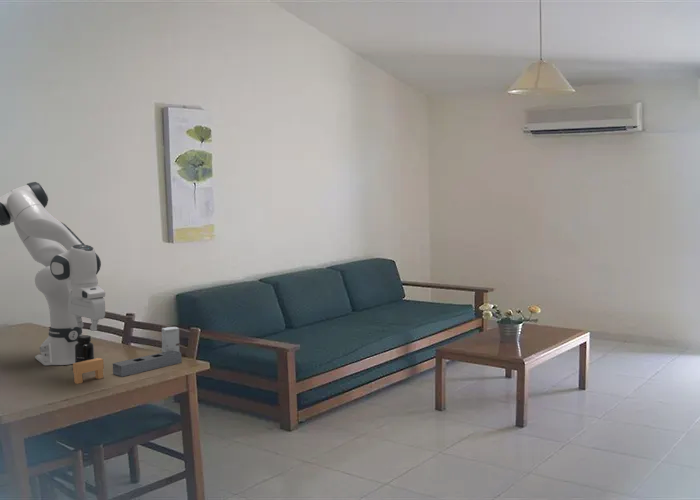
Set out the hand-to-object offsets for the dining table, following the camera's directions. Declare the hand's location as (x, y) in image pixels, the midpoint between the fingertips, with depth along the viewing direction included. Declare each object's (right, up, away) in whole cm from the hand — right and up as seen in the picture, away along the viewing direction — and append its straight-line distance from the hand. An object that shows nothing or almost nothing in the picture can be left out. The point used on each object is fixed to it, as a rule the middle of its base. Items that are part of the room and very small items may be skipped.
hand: (86, 328), depth 255 cm
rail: (+17, -17, +18) cm, 30 cm away
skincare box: (+22, -15, +34) cm, 43 cm away
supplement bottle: (-8, -17, +20) cm, 27 cm away
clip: (0, -19, +2) cm, 19 cm away
